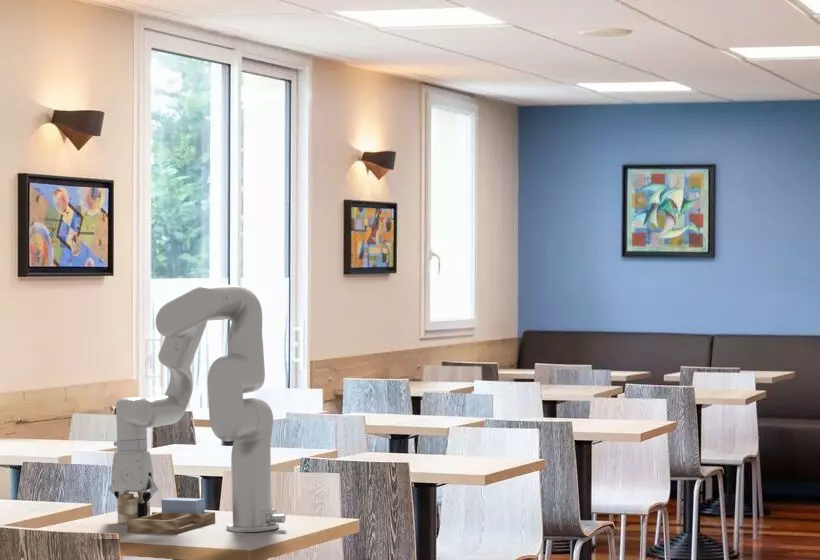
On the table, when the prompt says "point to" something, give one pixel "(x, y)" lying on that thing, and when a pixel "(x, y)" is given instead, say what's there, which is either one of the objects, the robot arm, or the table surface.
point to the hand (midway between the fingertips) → (134, 517)
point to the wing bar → (183, 505)
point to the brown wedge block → (129, 507)
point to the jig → (169, 522)
